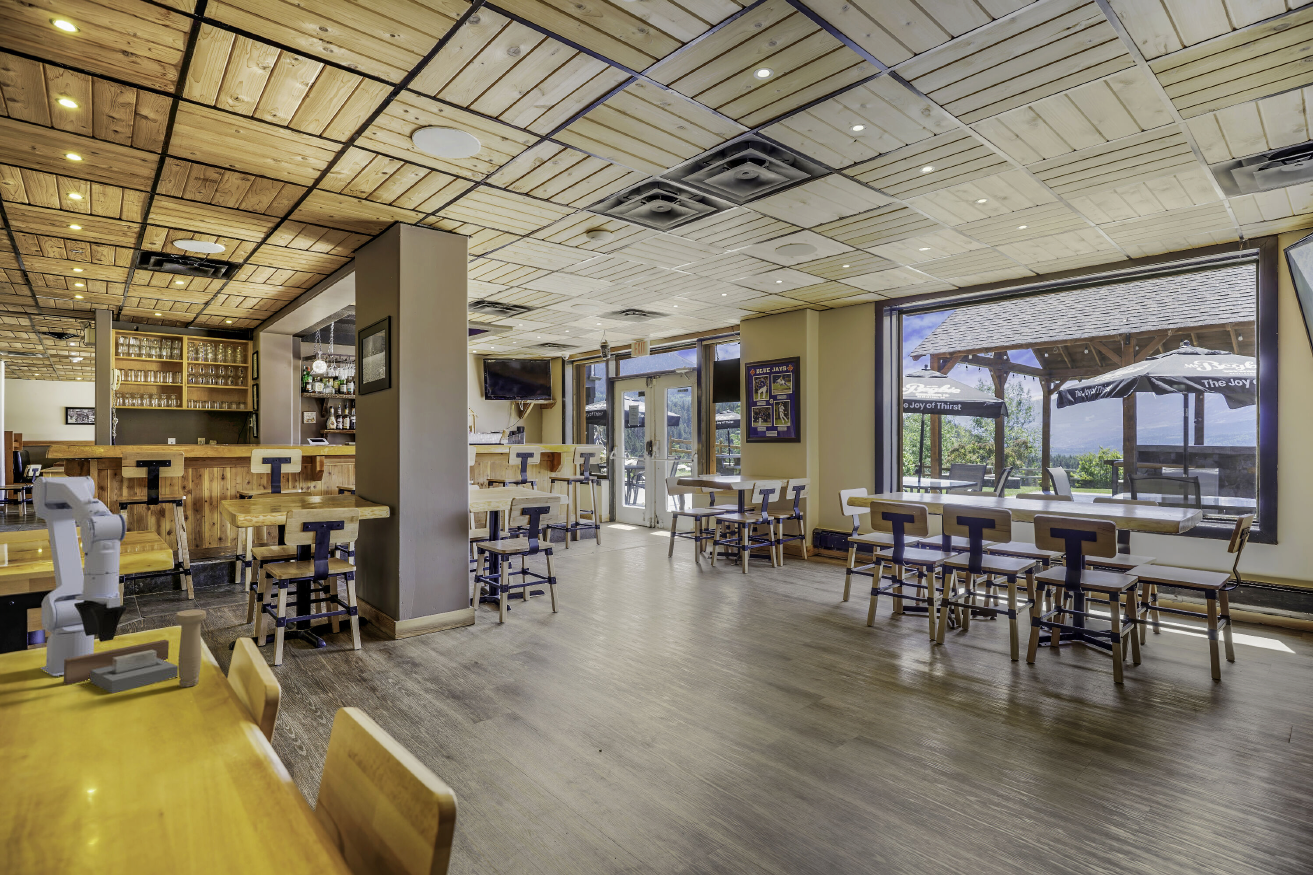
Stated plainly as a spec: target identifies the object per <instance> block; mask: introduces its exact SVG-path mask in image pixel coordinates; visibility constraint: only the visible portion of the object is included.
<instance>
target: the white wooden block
mask: <svg viewBox="0 0 1313 875" xmlns="http://www.w3.org/2000/svg"><path fill="white" fill-rule="evenodd" d="M156 653H157V651H155V650H148V651H143V652H138V653H133V654H128V655H123V656H118V657H113V660H112V675H116V674H121V673H125V672H130V671H134V670H139V669H143V668H148V667H152V666H156Z"/></svg>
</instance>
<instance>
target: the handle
mask: <svg viewBox="0 0 1313 875" xmlns="http://www.w3.org/2000/svg"><path fill="white" fill-rule="evenodd" d="M175 618H176V619H175V620H176V622H177V623H178V624H180V625H181V627H180V628H181V629H180V640H179V652H178V662H177V663H178V664H177V666H178V678H179V679H180V680H179V681H178V682H179V687H180V688H189V687H194V686H196V685H197V684H199V680H200V672H201V668H202V666H201V665H202V664H201V663H202V641H201V640H202V638H201V624H202V621H204V620H206V618H207V611H206V610H204V609H187V610H181V611H178V612H176V617H175Z"/></svg>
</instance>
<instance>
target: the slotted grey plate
mask: <svg viewBox="0 0 1313 875" xmlns="http://www.w3.org/2000/svg"><path fill="white" fill-rule="evenodd" d="M176 676H177V677H178V676H179V669H178V664H177V665H176V664H173V663H171V662H169V661H168V662H167V661H164V660H162V659H159V658H157V657H156V666H152V667H148V668H143V669H139V670H134V671H130V672H125V673H121V674H116V675H112V666H108V667H103V668H99V669H94V670H91V673H90V680H89V682H90V683H91V682H92V683H91V684H93V685H95V686H97V687H98V688H100V687H101V689H102V690H104V689H105V690H104V691H106V692H108V693H110V694H115V693H119V692H123V691H127V690H132V689H135V688H140V686H141V687H144V686H143V685H145V686H149V685H152V684H151V683H153V684H156V683H155V682H157V683H160V682H159V681H162V680H166V679H169V678H173V677H176ZM166 681H167V680H166ZM162 682H163V681H162ZM148 684H149V685H148Z"/></svg>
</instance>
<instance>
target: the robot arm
mask: <svg viewBox="0 0 1313 875" xmlns="http://www.w3.org/2000/svg"><path fill="white" fill-rule="evenodd" d="M95 486H96V485H95V482H94V480H93V478H92V477H91V476H89V475H86V476H85V475H84V476H53V477H52V476H48V477H47V476H45V477H44V476H38V477H37V478H36V479H35V480H34V482H33V485H32V492H31V493H32V503H33V504H32V505H33V509H34V512H35V516H36V517H37V518H39V519H42V520H44V521H45V524H46V528H47V530H48V538H49V545H50V551H51V559H52V566H53V572H54V579H55V587H56V588H55V589H53V590H52V591H50V592H49V593H48V594H47V595H45V596H44V597H43V600H42V601H41V613H40V616H41V617H40V622H41V625H42V628H43V630H45V631H46V632H48V633H50V634H49V635H48V638H47V639H46V640H47V641H46V663H45V666H41V667H40V668H41V669H42V670H44V671H46V672H48V673H49V674H48V673H47V674H48V675H50V676H52V677H53V676H58V677H60V676H59V675H63V676H64V659H68V658H73V657H78V656H83V655H88V654H93V653H95V652H94V650H95V646H94V645H95V636H96V635H97V637H98V641H99V642H100V643H102V642H103V643H104V642H108V641H113V640H114V639H115V636H116V632H117V629H118V626H119V622H120V620H121V618H122V616H123V615H124V613H125V612H126V611H127V609H128V605H125V604H122V605H121V597H120V594H121V593H120V590H119V586H120V559H121V557H120V556H121V542H122V541H124V539H125V537H126V532H127V523H126V522H127V521H126V519H125V517H124V515H123V513H115V514H113V513H112V512H111V510H110V509H109V508H108V507H107V506H106V505H105V503H104V502H103V501H101V500H99V498H94V496H95V492H96V491H95V490H96V489H95ZM76 523H77V525H78V526H79V527H80V529H79V530H80V531H79V532H80V539H81V549H82V552H83V553H84V557H83V559H84V564H82V557H81V551H80V550H81V549H80V545H79V544H80V543H79V540H78V539H79V538H78V533H77V525H76ZM41 669H40V670H41ZM42 670H41V671H42ZM44 671H43V672H44ZM46 672H45V673H46Z"/></svg>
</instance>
